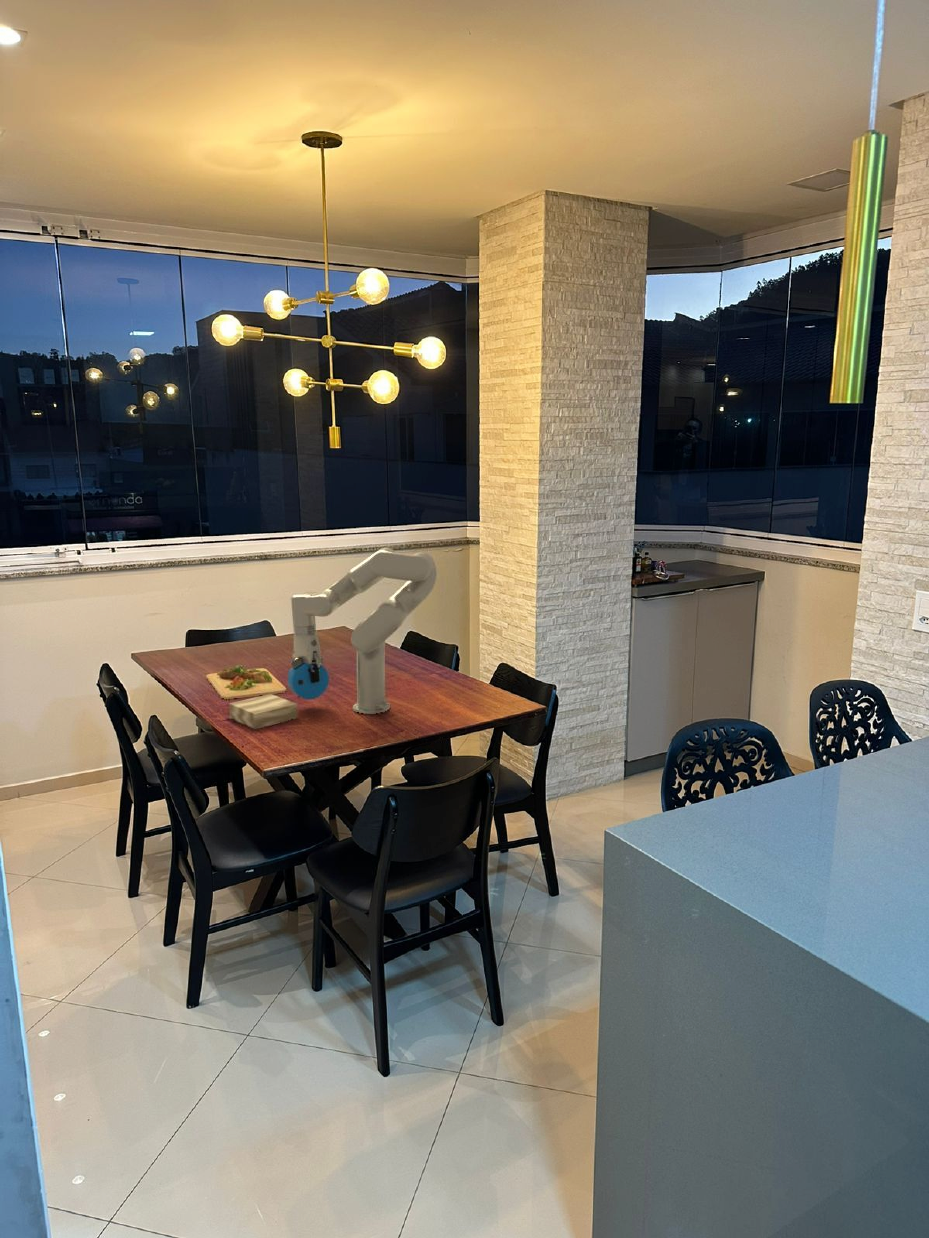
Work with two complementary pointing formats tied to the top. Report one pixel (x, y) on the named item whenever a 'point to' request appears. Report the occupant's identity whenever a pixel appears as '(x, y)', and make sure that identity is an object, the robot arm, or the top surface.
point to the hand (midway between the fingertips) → (308, 680)
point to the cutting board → (244, 683)
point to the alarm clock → (306, 680)
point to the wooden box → (263, 711)
